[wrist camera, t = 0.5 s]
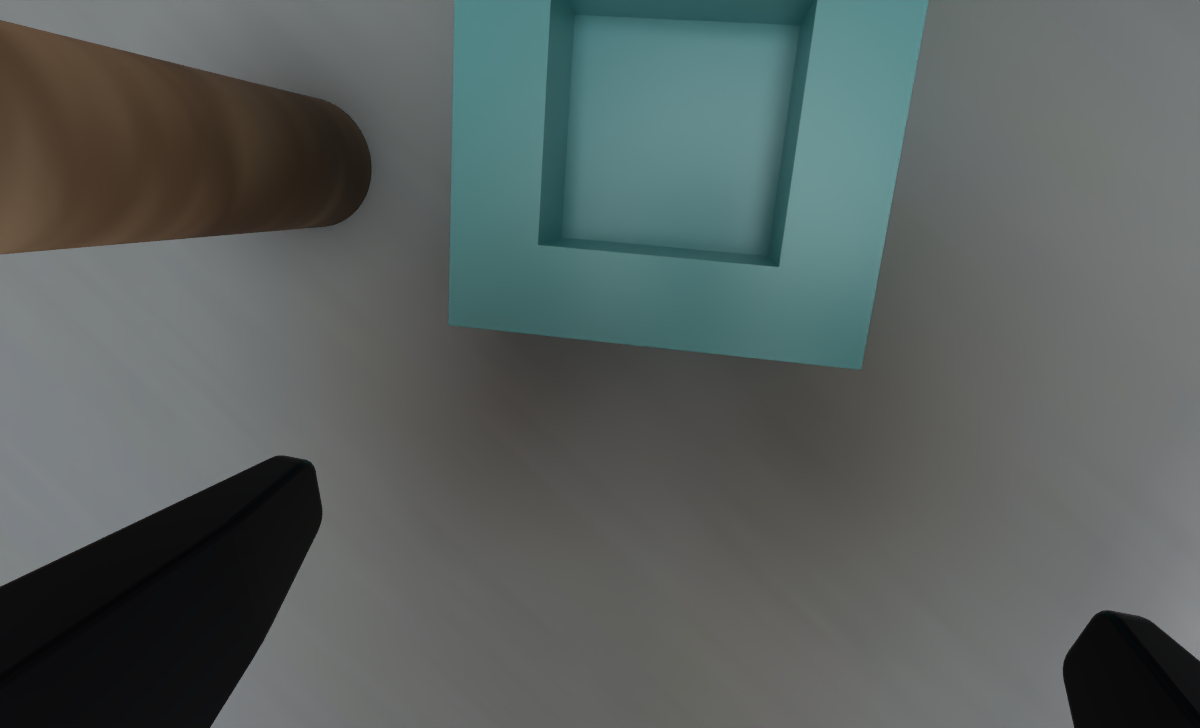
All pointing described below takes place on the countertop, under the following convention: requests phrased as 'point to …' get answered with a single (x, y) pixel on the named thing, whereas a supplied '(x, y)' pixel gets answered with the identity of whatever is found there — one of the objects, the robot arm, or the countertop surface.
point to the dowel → (159, 150)
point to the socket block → (678, 170)
